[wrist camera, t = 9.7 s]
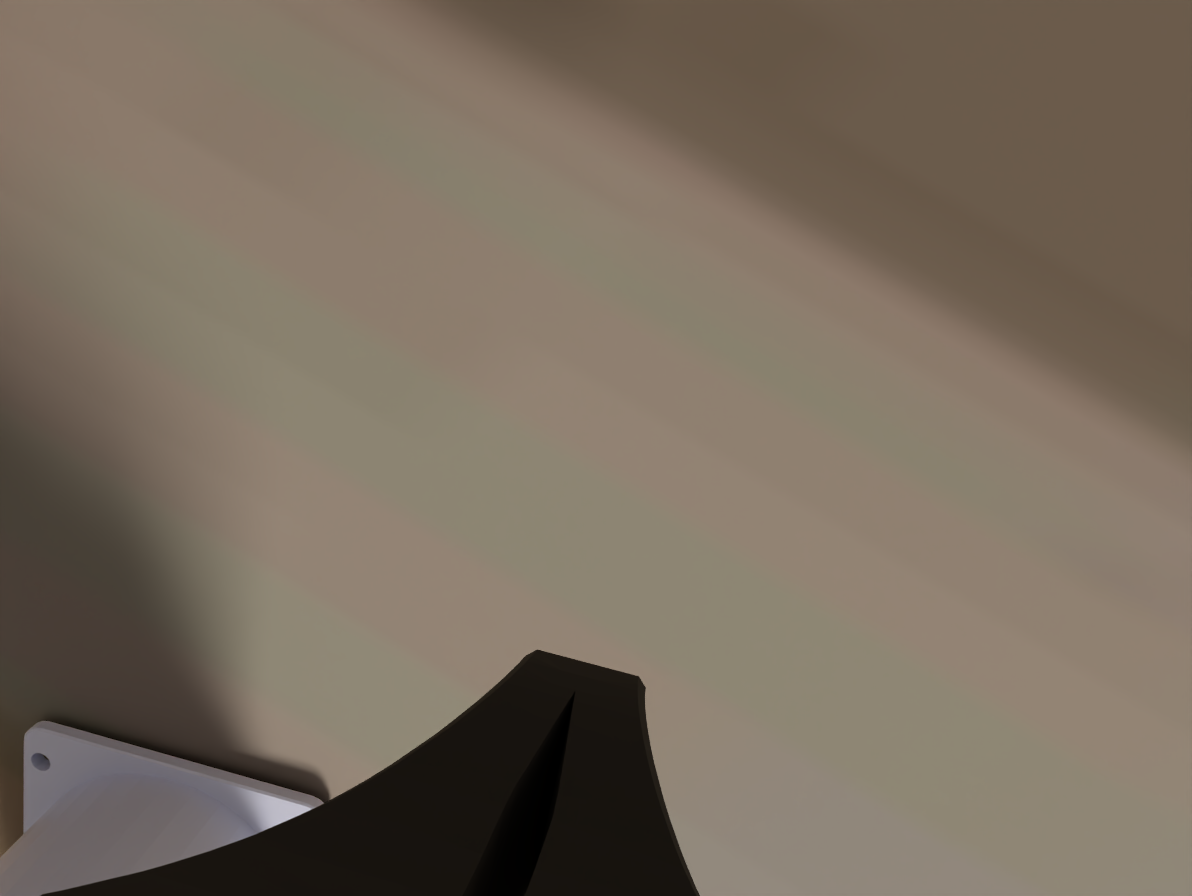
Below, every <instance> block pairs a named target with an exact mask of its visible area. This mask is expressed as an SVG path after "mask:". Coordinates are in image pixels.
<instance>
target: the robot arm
mask: <svg viewBox="0 0 1192 896" xmlns="http://www.w3.org/2000/svg"><path fill="white" fill-rule="evenodd" d="M645 689H646V687H645V686H644V684H643V683H642V681H641V679H640V678H639V676H635V675H631V674H628V673H624V672H620V671H616V670H612V669H609V668H605V667H601V666H597V665H594V664H590V663H586V662H582V661H578V660H575V659H571V658H567V657H563V656H560V655H556V654H552V653H548V652H544V651H541V650H536V651H534V652H532V653H530V654H528V655H526V656H525V657H524V658H523V659H522V660H521V661H520V663H519V664H518V665H517V666H516V667H515V668H514V669H513V670H512V671H510V672H509V673H508V674H507V675H506V676H505V677H504V678H503V679H502V680H501V681H500V682H499V683H498V684H497V685H495V686H494V687H493V688H492V689H491V690H490V691H489V692H487V693H486V694H485V695H484V696H483V697H482V698H481V699H479V700H478V701H477V702H476V703H475V704H473V705H472V706H471V707H470V708H468V709H467V710H466V711H465V712H463V713H462V714H461V715H460V716H458V717H457V718H456V719H454V720H453V721H452V722H451V723H449V724H448V725H447V726H446V727H444V728H443V729H442V730H440V731H439V732H438V733H436V734H435V735H434V736H432V737H431V738H429V739H428V740H426V741H425V742H424V743H422V744H421V745H419V746H418V747H416V748H415V749H413V750H412V751H410V752H409V753H408V754H406V755H405V756H403V757H402V758H400V759H399V760H397V761H396V762H394V763H393V764H392V765H390V766H388V767H387V768H385V769H384V770H382V771H380V772H379V773H377V774H375V775H374V776H372V777H371V778H369V779H367V780H365V781H364V782H362V783H360V784H359V785H357V786H355V787H353V788H352V789H350V790H348V791H346V792H344V793H342V794H341V795H339V796H337V797H335V798H333V799H331V800H329V801H328V802H326V803H323V802H322V801H321V800H320V799H318V798H316V797H314V796H312V795H308V794H305V793H301V792H298V791H294V790H291V789H287V788H283V787H280V786H276V785H273V784H269V783H266V782H262V781H259V780H255V779H252V778H248V777H245V776H241V775H237V774H234V773H230V772H227V771H223V770H220V769H216V768H213V767H209V766H206V765H202V764H199V763H195V762H192V761H188V760H184V759H181V758H177V757H174V756H170V755H167V754H163V753H160V752H156V751H153V750H149V749H146V748H142V747H139V746H135V745H131V744H128V743H124V742H121V741H117V740H114V739H110V738H107V737H103V736H100V735H96V734H93V733H89V732H86V731H82V730H78V729H75V728H71V727H68V726H64V725H61V724H57V723H54V722H50V721H40V722H37V723H36V724H35V725H34V726H32V727H31V728H30V729H29V730H28V731H27V732H26V733H25V736H24V820H23V835H22V836H21V837H20V838H19V839H18V840H17V841H16V842H15V843H14V844H13V845H12V846H11V847H10V848H9V849H8V850H7V851H6V852H5V853H4V854H3V855H2V856H1V857H0V896H700V895H699V893H698V891H697V889H696V887H695V884H694V882H693V880H692V877H691V875H690V872H689V870H688V868H687V865H686V863H685V860H684V857H683V855H682V852H681V850H680V847H679V844H678V841H677V838H676V836H675V833H674V830H673V827H672V824H671V821H670V818H669V815H668V812H667V809H666V805H665V802H664V799H663V795H662V791H661V787H660V784H659V780H658V776H657V772H656V768H655V765H654V760H653V756H652V751H651V746H650V740H649V735H648V729H647V721H646V712H645ZM42 754H43V755H45V756H46V757H47V758H48V759H49V760H47V759H46V758H45V757H44V756H43V755H42Z"/></svg>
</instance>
